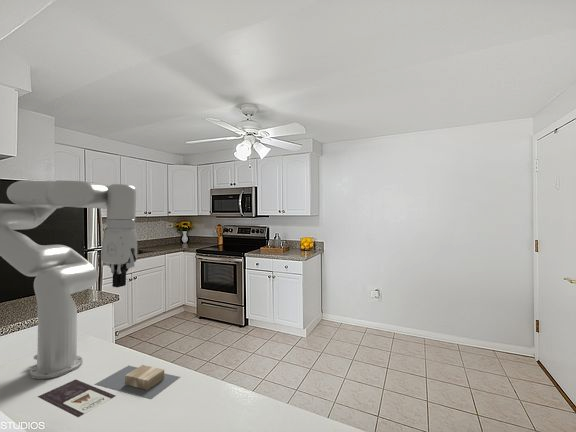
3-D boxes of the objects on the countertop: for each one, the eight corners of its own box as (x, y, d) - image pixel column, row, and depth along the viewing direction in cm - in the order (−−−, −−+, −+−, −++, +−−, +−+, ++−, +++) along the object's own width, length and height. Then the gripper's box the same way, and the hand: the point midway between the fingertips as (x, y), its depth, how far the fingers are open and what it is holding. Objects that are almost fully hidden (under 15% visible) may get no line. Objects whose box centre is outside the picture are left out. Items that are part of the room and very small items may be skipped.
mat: (94, 386, 80) (94, 384, 80) (128, 367, 90) (128, 365, 90) (151, 401, 73) (151, 399, 73) (180, 378, 84) (180, 376, 84)
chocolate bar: (75, 379, 82) (116, 395, 75) (75, 382, 82) (116, 399, 75) (37, 396, 74) (78, 416, 66) (37, 400, 74) (78, 421, 66)
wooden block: (125, 375, 79) (147, 380, 77) (142, 364, 85) (164, 369, 82) (124, 385, 79) (147, 390, 77) (142, 374, 85) (164, 379, 82)
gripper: (91, 224, 86) (89, 286, 86) (128, 226, 81) (126, 291, 81) (114, 224, 93) (113, 281, 93) (149, 226, 88) (148, 286, 88)
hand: (119, 286), depth 87 cm, fingers closed
